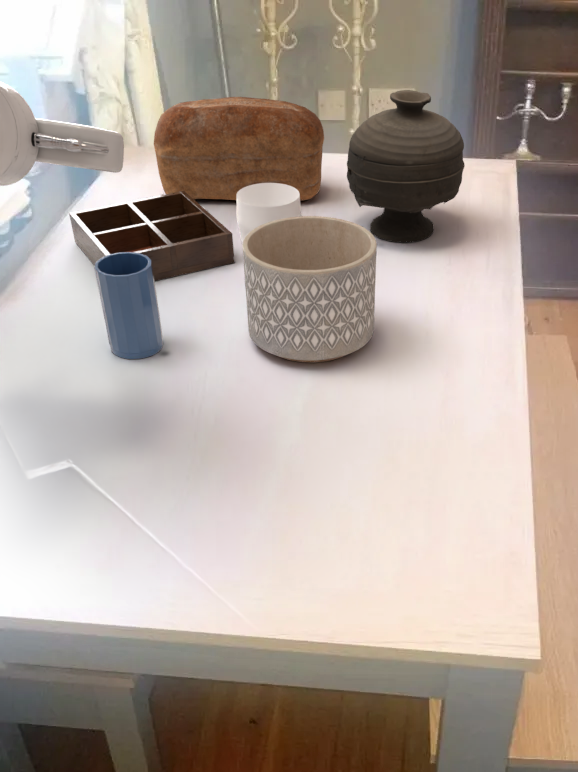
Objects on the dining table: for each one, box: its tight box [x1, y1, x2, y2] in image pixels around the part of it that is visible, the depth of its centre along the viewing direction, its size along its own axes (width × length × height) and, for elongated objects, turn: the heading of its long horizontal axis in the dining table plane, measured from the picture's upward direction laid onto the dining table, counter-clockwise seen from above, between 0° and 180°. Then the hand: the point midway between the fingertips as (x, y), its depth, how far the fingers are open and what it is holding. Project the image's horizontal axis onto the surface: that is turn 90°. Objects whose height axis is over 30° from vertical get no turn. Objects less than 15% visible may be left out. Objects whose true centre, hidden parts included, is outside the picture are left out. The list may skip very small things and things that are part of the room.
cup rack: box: [69, 191, 236, 282], centre depth 136 cm, size 19×19×4 cm
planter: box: [241, 215, 378, 363], centre depth 114 cm, size 16×16×13 cm
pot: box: [346, 89, 465, 244], centre depth 137 cm, size 18×18×20 cm
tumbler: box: [94, 252, 164, 360], centre depth 113 cm, size 7×7×11 cm
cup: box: [235, 183, 303, 246], centre depth 127 cm, size 9×9×12 cm
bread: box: [153, 96, 325, 202], centre depth 149 cm, size 12×28×14 cm, turn 88°
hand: (49, 143), depth 94 cm, fingers open, 8 cm apart
